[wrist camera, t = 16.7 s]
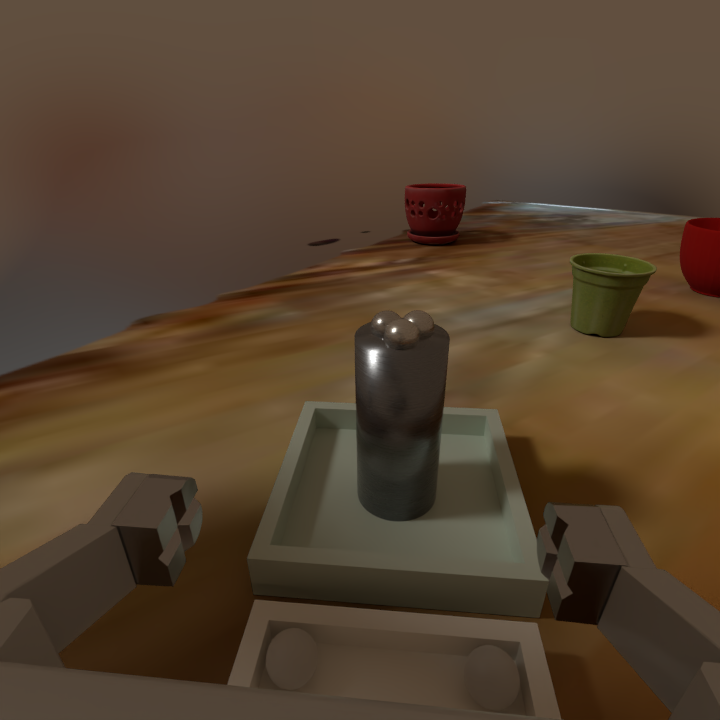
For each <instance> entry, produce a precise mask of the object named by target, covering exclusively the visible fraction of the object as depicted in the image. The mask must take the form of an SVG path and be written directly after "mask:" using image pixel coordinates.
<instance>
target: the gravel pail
mask: <svg viewBox="0 0 720 720" xmlns="http://www.w3.org/2000/svg"><path fill="white" fill-rule="evenodd" d="M449 341H450V337H449V334H448V333H447V332H446V331H445V330H444V329H443V328H441V327H440V326H438V325H436V324H434V321H433V319H432V318H431V316H430V315H429V314H427V313H426V312H424V311H419V310H416V311H412V312H409V313H408V314H407V315H405V317H404V318H401V317H400V316H399V315H398V314H396V313H395V312H392V311H382V312H379V313H378V314H376V315H375V316H374V318H373V319H372V321H371V322H370V323H367V324H365V325H363V326H362V327H360V328H359V329H358V330H357V331H356V333H355V384H356V441H357V493H358V498H359V501H360V503H361V504H362V506H363V507H364V508H365V509H366V510H367V511H368V512H369V513H371V514H372V515H374V516H376V517H378V518H381V519H384V520H388V521H397V522H402V521H409V520H414V519H417V518H419V517H421V516H423V515H424V514H426V513H427V512H428V511H429V510H430V509H431V508H432V506H433V505H434V503H435V499H436V490H437V479H438V467H439V456H440V444H441V433H442V421H443V410H444V398H445V387H446V375H447V364H448V352H449Z"/></svg>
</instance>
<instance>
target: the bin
mask: <svg viewBox="0 0 720 720" xmlns="http://www.w3.org/2000/svg"><path fill="white" fill-rule="evenodd" d="M247 562H248V568H249V574H250V579H251V585H252V590H253V595H266V596H278V597H290V598H302V599H314V600H326V601H339V602H351V603H363V604H375V605H387V606H399V607H412V608H424V609H436V610H448V611H460V612H472V613H485V614H497V615H509V616H521V617H533V618H540V614H541V610H542V606H543V603H544V599H545V595H546V591H547V588H548V584H549V580H548V579H547V578H546V577H545V576H544V575H543V574H542V573H541V570H540V567H539V563H538V558H537V539H536V536H535V533H534V529H533V526H532V523H531V519H530V516H529V513H528V510H527V506H526V503H525V500H524V496H523V493H522V490H521V486H520V483H519V480H518V476H517V473H516V470H515V467H514V463H513V460H512V457H511V453H510V450H509V447H508V443H507V440H506V437H505V434H504V430H503V427H502V424H501V420H500V417H499V414H498V410H497V409H475V408H452V407H444V410H443V421H442V433H441V444H440V456H439V467H438V479H437V490H436V499H435V503H434V505H433V506H432V508H431V509H430V510H429V511H428V512H427V513H426V514H424V515H423V516H421V517H419V518H417V519H414V520H409V521H402V522H397V521H388V520H384V519H381V518H378V517H376V516H374V515H372V514H371V513H369V512H368V511H367V510H366V509H365V508H364V507H363V506H362V504H361V503H360V501H359V498H358V493H357V441H356V403H335V402H311V401H305V404H304V407H303V409H302V412H301V415H300V417H299V420H298V423H297V425H296V428H295V431H294V433H293V436H292V439H291V442H290V444H289V447H288V450H287V452H286V455H285V458H284V460H283V463H282V466H281V468H280V471H279V474H278V476H277V479H276V482H275V484H274V487H273V490H272V492H271V495H270V498H269V500H268V503H267V506H266V508H265V511H264V514H263V516H262V519H261V522H260V524H259V527H258V530H257V533H256V535H255V538H254V541H253V543H252V546H251V549H250V551H249V554H248V557H247Z"/></svg>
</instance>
